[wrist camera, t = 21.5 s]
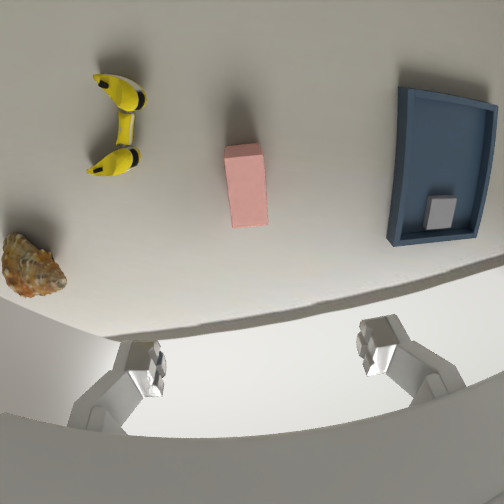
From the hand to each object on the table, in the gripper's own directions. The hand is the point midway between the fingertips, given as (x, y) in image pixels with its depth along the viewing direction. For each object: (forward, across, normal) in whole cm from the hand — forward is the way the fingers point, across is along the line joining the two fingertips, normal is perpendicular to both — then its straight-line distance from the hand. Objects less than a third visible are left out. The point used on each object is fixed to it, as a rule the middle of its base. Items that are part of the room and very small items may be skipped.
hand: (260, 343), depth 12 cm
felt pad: (+21, -23, +5) cm, 31 cm away
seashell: (+21, +27, +6) cm, 35 cm away
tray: (+21, -23, 0) cm, 31 cm away
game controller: (+21, +11, -7) cm, 25 cm away
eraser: (+21, 0, 0) cm, 21 cm away
